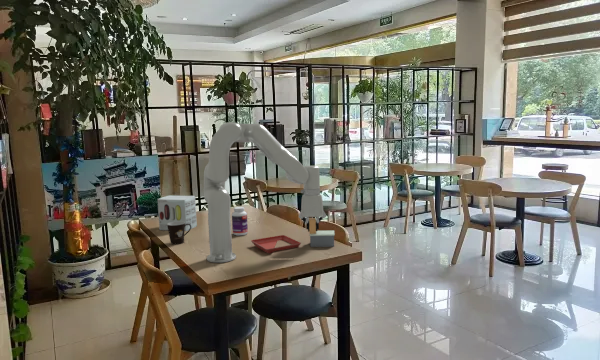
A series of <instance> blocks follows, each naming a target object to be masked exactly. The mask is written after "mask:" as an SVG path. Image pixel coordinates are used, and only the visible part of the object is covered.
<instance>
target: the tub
mask: <svg viewBox="0 0 600 360" xmlns="http://www.w3.org/2000/svg"><path fill="white" fill-rule="evenodd" d="M309 239H310V241H309V243H310V248H315V247H316V248H320V247H321V248H326V247H329V248H330V247H333V248H335V236H309Z"/></svg>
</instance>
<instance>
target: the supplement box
mask: <svg viewBox="0 0 600 360" xmlns="http://www.w3.org/2000/svg"><path fill="white" fill-rule="evenodd" d="M196 206H197V204H196V195H166V196H163V197H160V198H157V211H158V228H159V231H168V226H167V224H168V223H171V222H185V224H190V225H191V230H192V229H194V228H196V227H197V226H198V224H197V210H196V209H197V207H196ZM190 225H186V226H185V232H188V231H189V229H190Z"/></svg>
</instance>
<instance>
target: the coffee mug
mask: <svg viewBox="0 0 600 360" xmlns="http://www.w3.org/2000/svg"><path fill="white" fill-rule="evenodd" d="M186 225H190V224H185V222H171V223H168V224H167V226H168V230H167V231H168V236H169V240H170V245H173V246H175V245H177V246H178V245H182V244H184V243H185V236H186V235H187V234H189V232H191V230H192V229H191V225H190V229H189V230H188V231H185V226H186Z"/></svg>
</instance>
